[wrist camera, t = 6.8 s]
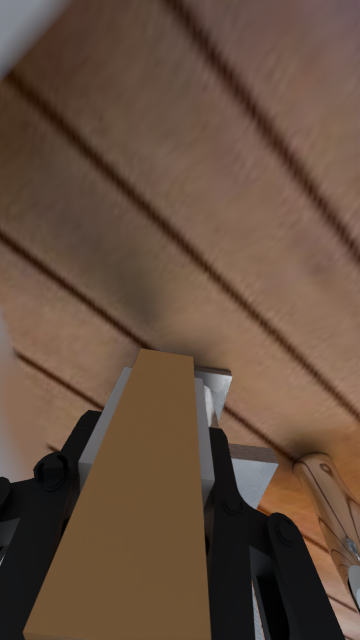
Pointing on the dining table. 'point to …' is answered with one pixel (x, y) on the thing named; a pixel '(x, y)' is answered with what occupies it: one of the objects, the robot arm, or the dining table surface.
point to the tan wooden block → (135, 523)
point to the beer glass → (334, 516)
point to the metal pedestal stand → (239, 452)
